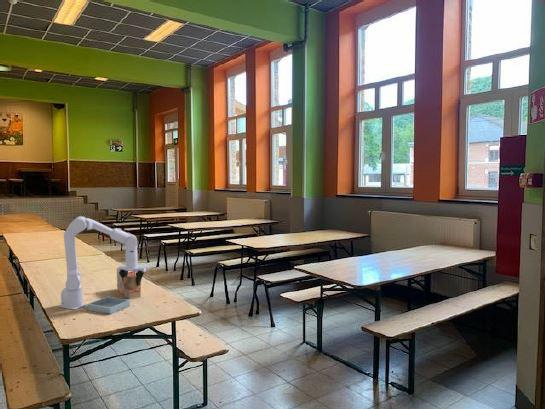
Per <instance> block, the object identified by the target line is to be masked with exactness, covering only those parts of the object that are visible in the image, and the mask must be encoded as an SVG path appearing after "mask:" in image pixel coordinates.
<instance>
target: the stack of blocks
mask: <svg viewBox="0 0 545 409" xmlns="http://www.w3.org/2000/svg"><path fill="white" fill-rule="evenodd" d="M119 272H120V271H118V267H117V268H116V282H117V284H116V286H117V291H119V292H120V293H121V294H123V296H125V297H126V298H127V299H128V300H131V299H137V298H141V296H142V295H141V294H142V292H141V291H142V287H140V288H138V289H135V290H127V289H124V283H123V280H122V277H121V276H120V274H119ZM135 273H136V271H128V276H129V275H136V274H135Z"/></svg>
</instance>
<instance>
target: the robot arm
mask: <svg viewBox="0 0 545 409" xmlns="http://www.w3.org/2000/svg"><path fill="white" fill-rule="evenodd" d="M85 230H87V231H90V230H96V231H98V232H101V233H104V234H106V235H109V237H110V239H111V240H113V241H116V242H118V243H119V244H122V245H123V244H125V265H123V266H122V265H119V266H117V268H118V271H120V272H119V274H120V276H121V277H122V280H123V277H126V276H128V271H135V275H136V278H137V286H139V285H140V283H141V284H142V279H143V276H144V274H145V272H147V267H143V266H138V265H139V264H138V262H139V260H138V256H139V255H138V239H137V236H136V235H134V234H132V233H130V232H126V231H124V230H122V228H120V227H119V228H117V227H116V228H111V227H108V226H106V225H104V224H102V223H100V222H99V221H97V220H95V219H91V218H89V217H86V216H81V215H79V216H77V217H75V219H73V220H72V221H71V222H70V223H69V225H68V226H67V228H66V230H65V232H63V233H64V234H63V242H64V250H65V251H64V252H65V262H66V281H65V287H64V288H63V289H62V290H61V292H60V306H59V308H62V309H68V310H77V309H79V308H82V307H85V306H87V303H84V302H83V286H81V282H82V278H83V277H82V276H81V274H80V272H79V267H78V256H77V247H76V246H77V244H76V236H77V235H78V234H79V233H82V232H83V231H85ZM123 283H124V280H123Z"/></svg>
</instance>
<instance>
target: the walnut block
mask: <svg viewBox="0 0 545 409" xmlns="http://www.w3.org/2000/svg"><path fill="white" fill-rule="evenodd" d="M123 280H124V289H127V290H135V289H138V288H140V287H141V286H142V282H141V283H140V285H139V286H137V278H136V274H135V275H129V276H126V277H123ZM141 288H142V287H141Z"/></svg>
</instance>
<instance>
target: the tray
mask: <svg viewBox="0 0 545 409" xmlns="http://www.w3.org/2000/svg"><path fill="white" fill-rule="evenodd" d="M86 304H87V303H86ZM86 306H87V311H89V312H96V313H99V314H106V315H112V314H115V313H117V312H120V311H121V310H122V311H123V309H126V308H129V307H130V306H131V299H125V298H120V297H119V298H118V297H114V296H113V297H112V296H106V297H103V298H100V299H98V300H94V301H92V302H90V303H88V304H87V305H86Z"/></svg>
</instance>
